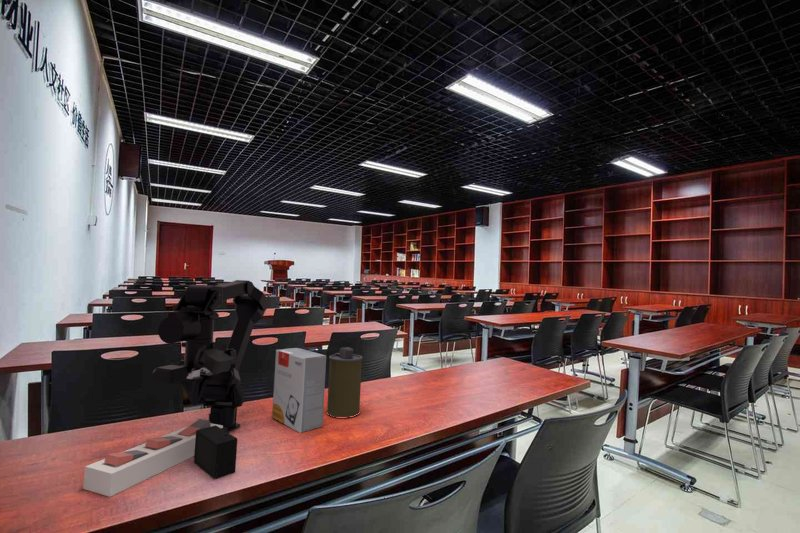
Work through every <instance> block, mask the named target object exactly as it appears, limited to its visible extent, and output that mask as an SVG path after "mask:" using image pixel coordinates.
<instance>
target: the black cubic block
mask: <svg viewBox="0 0 800 533" xmlns="http://www.w3.org/2000/svg"><path fill="white" fill-rule="evenodd" d="M237 451H238V438H237V437H236V436H234V435H232V434H231V433H230V431H229V430H228V428H226V427H224V428H219V427H218V426H212V427H207V428H203V429H199V430H196V439H195V453H194V456H193V463H194V464H195V465H196V466H197V467H198V468H200V469H201V470H202V471H204V472H205V473H206V474H207V475H208V476H209V477H210V478H211V479H213V480H217V479H220V478H224V477H225V476H229V475H232V474H234V473H236V466H237Z"/></svg>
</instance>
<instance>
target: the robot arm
mask: <svg viewBox="0 0 800 533" xmlns="http://www.w3.org/2000/svg"><path fill="white" fill-rule="evenodd" d="M230 299H232V303H233V304H234V305H235V314H236V317H237V320H236V321H235V322H236V323H235V324H234V328H233V330H232V333H231V336H230V339H229V340H228V343H227V346H226V349H225V350H219V348H218V347H219V346H218V342H217V341H214V328H215V319H218V318H219V317H220V314H218V312H217V311H215V310H216V309H218V308H220V307H221V306H222V305H224V301H227V300H230ZM268 305H269V301H268V299H267V297H266V294H265V293H264V292H263V291H262V290H260V289H259V288H258V287H256V286H255V285H254V283H253V281H250V280H245V279H243V280H242V279H240V280H239V279H236V280H233V281H230V282H226V283H225V282H224V283H221V284H216V285H205V284H203V285H201V284H190V285H188V286H187V287H186V289H185V291H184V292H183V293H182V295H181V297H180V298H179V300H178V302H177V304H176V306H175V308H174V309H173V310H172V311H169V312H168V316H167V317H166V318H164V319H163V320H162V321H161V322H160V323H159V326H158V328H157V334H158V336H159V337H158V338H160V340H161V341H162V342H163V343H164V344H168V345H172V344H177V343H181V345H180V347H181V348H184V359H180V360H179V365H175V364H169V365H164V366H163V365H162V366H158V367H156V368H155V369H154V370H153V371H152V375H151V376H152V377H151V381H152V382H158V383H164V384H177V383H180V384H181V386H182V387H183V389H184V391H185V393H186V395H187V397H188V399H189V402H190V403H191V405H192V406H197V405H199V404H200V401H201V398H202V399H203V400H202V401H203V404H204V405H203V406H204V407H210V412H209V414H208V421H210V423H212V424H217V425H222V426H223V428H224V427H226V428H228V430H229V432H231V431H233V430H235V429H237V428H240V427H241V423H237V413H238V412H237V411H238V408H240V407H242V406H243V404H244V402H245V396H246V394H245V393H244V391H243V389H242V388H241V383H242V381H241V377H240V373H239V371H240V370H239V369H240V367H241V364H242V361H243V358H244V355H245V353H246V350H247V347H248V343H249V341H250V338H251V335H252V332H253V329H254V327H255V324H257V323H258V322H259V321H260V320H261V319H263V318H264V315H265V313H266V311H267V309H268Z"/></svg>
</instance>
